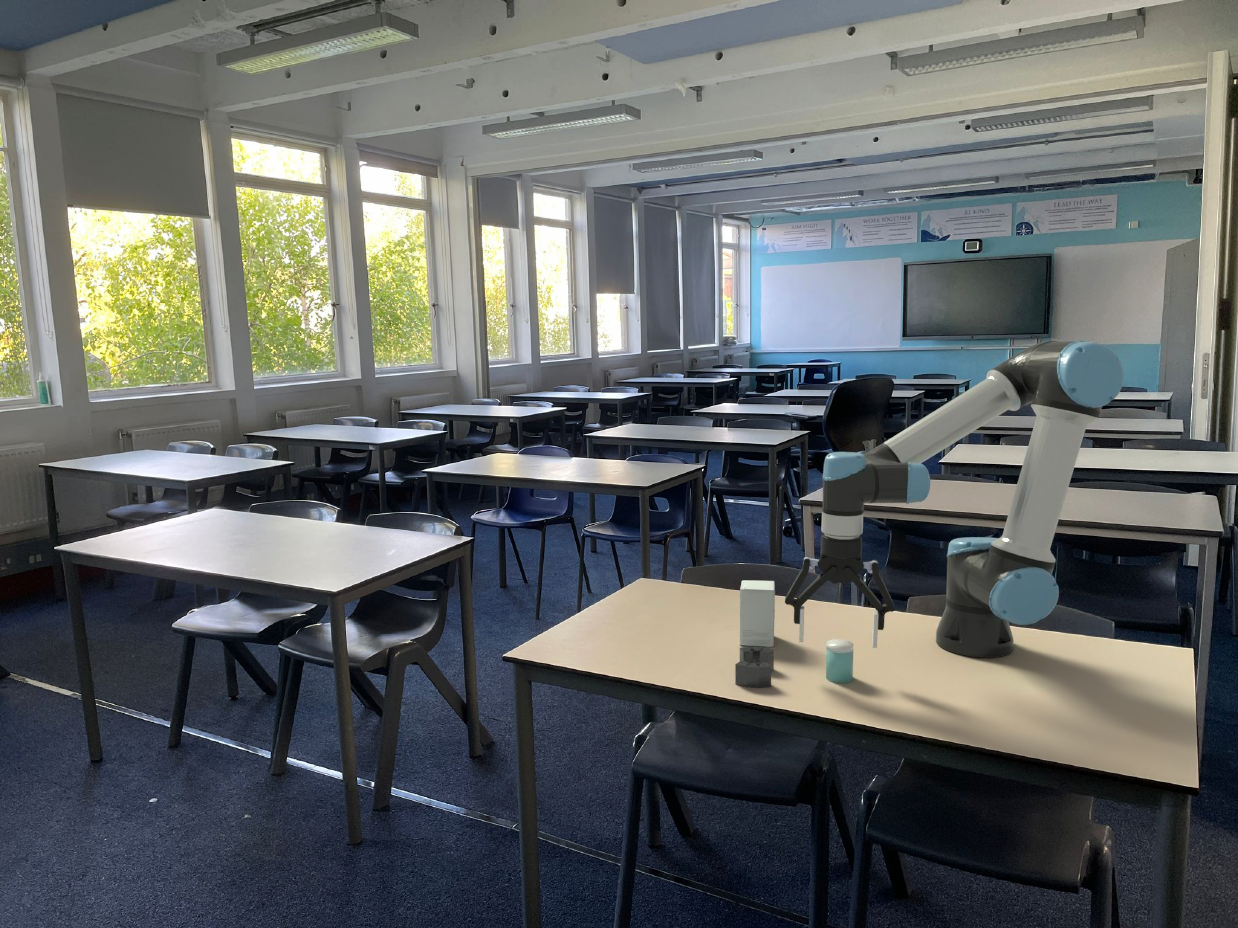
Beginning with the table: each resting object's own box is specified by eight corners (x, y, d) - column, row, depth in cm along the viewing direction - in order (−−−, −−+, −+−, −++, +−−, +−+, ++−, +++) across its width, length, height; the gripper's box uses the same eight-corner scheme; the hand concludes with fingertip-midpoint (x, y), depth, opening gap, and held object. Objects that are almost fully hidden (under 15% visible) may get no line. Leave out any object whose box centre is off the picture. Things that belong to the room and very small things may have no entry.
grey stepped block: (773, 666, 173) (774, 647, 172) (770, 688, 162) (771, 668, 162) (740, 664, 174) (740, 645, 173) (734, 685, 164) (734, 665, 163)
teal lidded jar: (852, 674, 168) (852, 639, 167) (853, 684, 163) (853, 649, 162) (826, 672, 169) (826, 638, 168) (826, 682, 165) (826, 647, 163)
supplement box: (774, 647, 183) (774, 590, 181) (739, 645, 185) (739, 588, 183) (774, 635, 190) (775, 580, 189) (741, 634, 192) (741, 579, 190)
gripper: (909, 533, 163) (903, 640, 166) (775, 526, 169) (772, 631, 172) (913, 542, 156) (907, 654, 159) (773, 535, 161) (770, 644, 164)
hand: (837, 642), depth 165 cm, fingers open, 13 cm apart
